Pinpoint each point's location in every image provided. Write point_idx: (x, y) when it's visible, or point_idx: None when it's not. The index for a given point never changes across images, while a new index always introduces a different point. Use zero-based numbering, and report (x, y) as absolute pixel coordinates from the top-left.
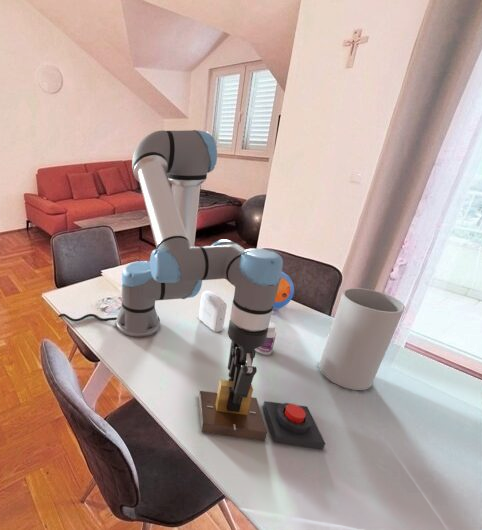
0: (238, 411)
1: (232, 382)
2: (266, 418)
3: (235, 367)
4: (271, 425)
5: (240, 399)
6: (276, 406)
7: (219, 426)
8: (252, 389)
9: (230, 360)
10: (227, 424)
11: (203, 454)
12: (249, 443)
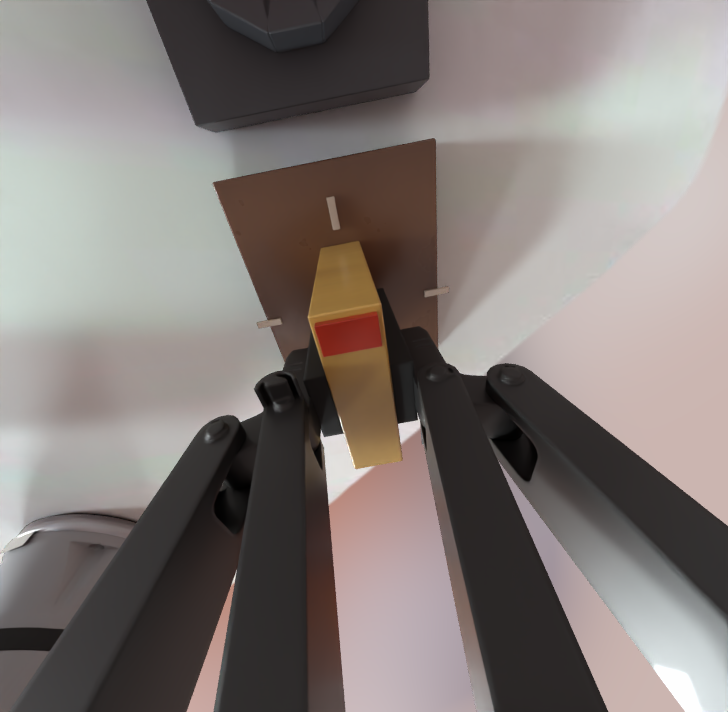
0: (383, 292)
1: (355, 421)
2: (283, 118)
3: (325, 539)
4: (348, 98)
5: (435, 348)
6: (195, 32)
7: (436, 337)
8: (379, 307)
9: (236, 560)
10: (428, 316)
11: (493, 346)
12: (438, 214)
